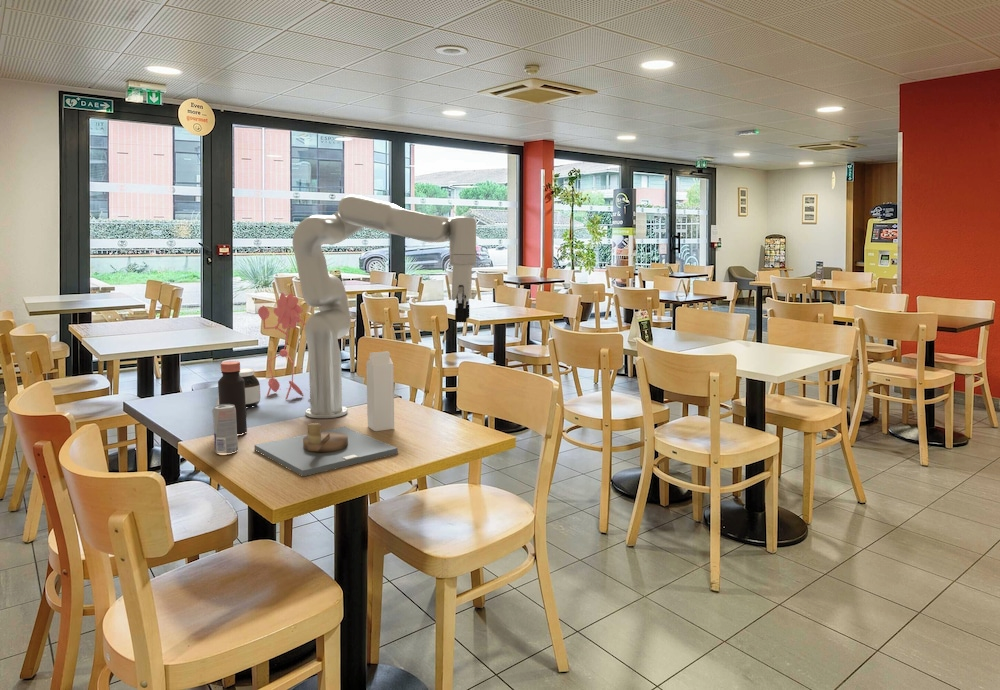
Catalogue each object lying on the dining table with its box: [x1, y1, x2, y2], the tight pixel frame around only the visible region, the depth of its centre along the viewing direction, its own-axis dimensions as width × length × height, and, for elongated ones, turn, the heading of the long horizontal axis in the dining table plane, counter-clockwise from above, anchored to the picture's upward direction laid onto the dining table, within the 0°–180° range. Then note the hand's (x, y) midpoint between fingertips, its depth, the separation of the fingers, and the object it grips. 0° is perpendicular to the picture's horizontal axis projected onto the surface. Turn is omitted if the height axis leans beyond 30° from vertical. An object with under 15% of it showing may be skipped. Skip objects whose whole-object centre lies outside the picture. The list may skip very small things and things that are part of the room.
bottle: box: [217, 360, 248, 434], centre depth 192 cm, size 7×7×20 cm
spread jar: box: [216, 368, 261, 408], centre depth 223 cm, size 12×11×12 cm
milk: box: [365, 351, 395, 432], centre depth 200 cm, size 6×6×22 cm
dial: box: [303, 422, 348, 452], centre depth 175 cm, size 16×11×8 cm
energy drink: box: [212, 404, 239, 453], centre depth 177 cm, size 5×5×12 cm
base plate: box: [254, 426, 399, 477], centre depth 178 cm, size 26×26×2 cm
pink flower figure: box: [257, 292, 306, 402], centre depth 239 cm, size 15×26×35 cm, turn 59°
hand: (462, 320), depth 203 cm, fingers open, 9 cm apart
